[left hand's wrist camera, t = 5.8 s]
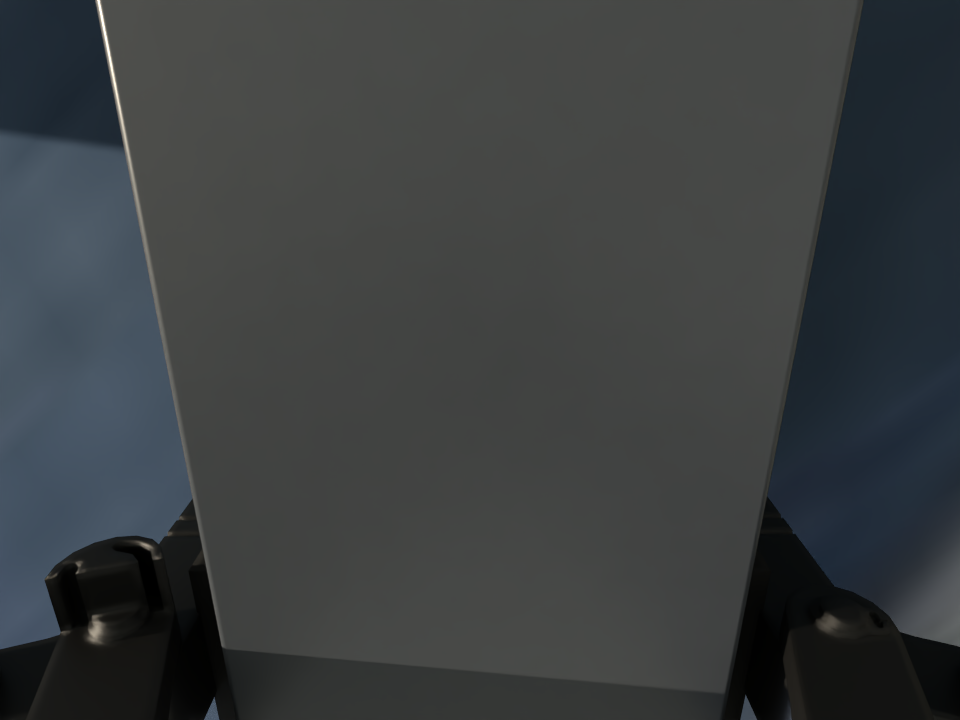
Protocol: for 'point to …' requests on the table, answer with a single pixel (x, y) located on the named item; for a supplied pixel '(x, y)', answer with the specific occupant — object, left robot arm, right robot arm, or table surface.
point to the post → (479, 333)
